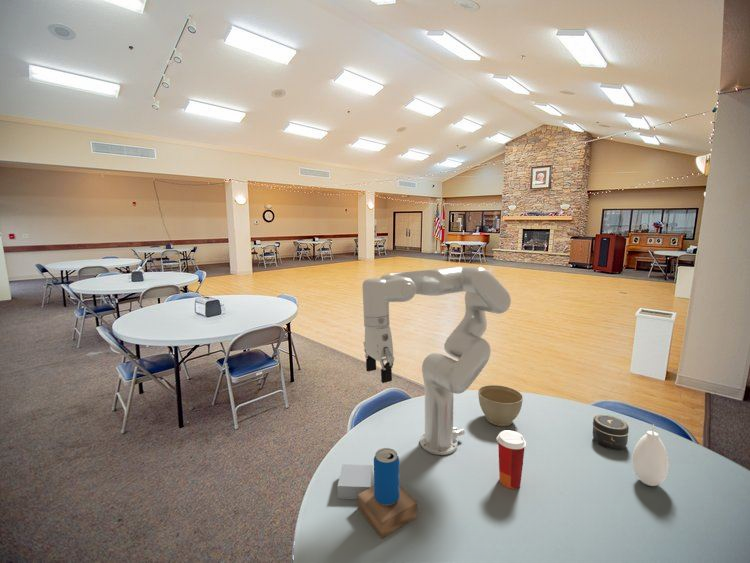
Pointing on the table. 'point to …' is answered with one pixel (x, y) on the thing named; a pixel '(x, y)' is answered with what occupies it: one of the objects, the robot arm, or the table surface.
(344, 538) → the table surface
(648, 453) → the white egg shaped candle
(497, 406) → the planter bowl
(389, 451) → the beverage can
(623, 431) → the jar
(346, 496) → the grey square block
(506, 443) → the paper cup
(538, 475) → the table surface
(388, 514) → the walnut block
